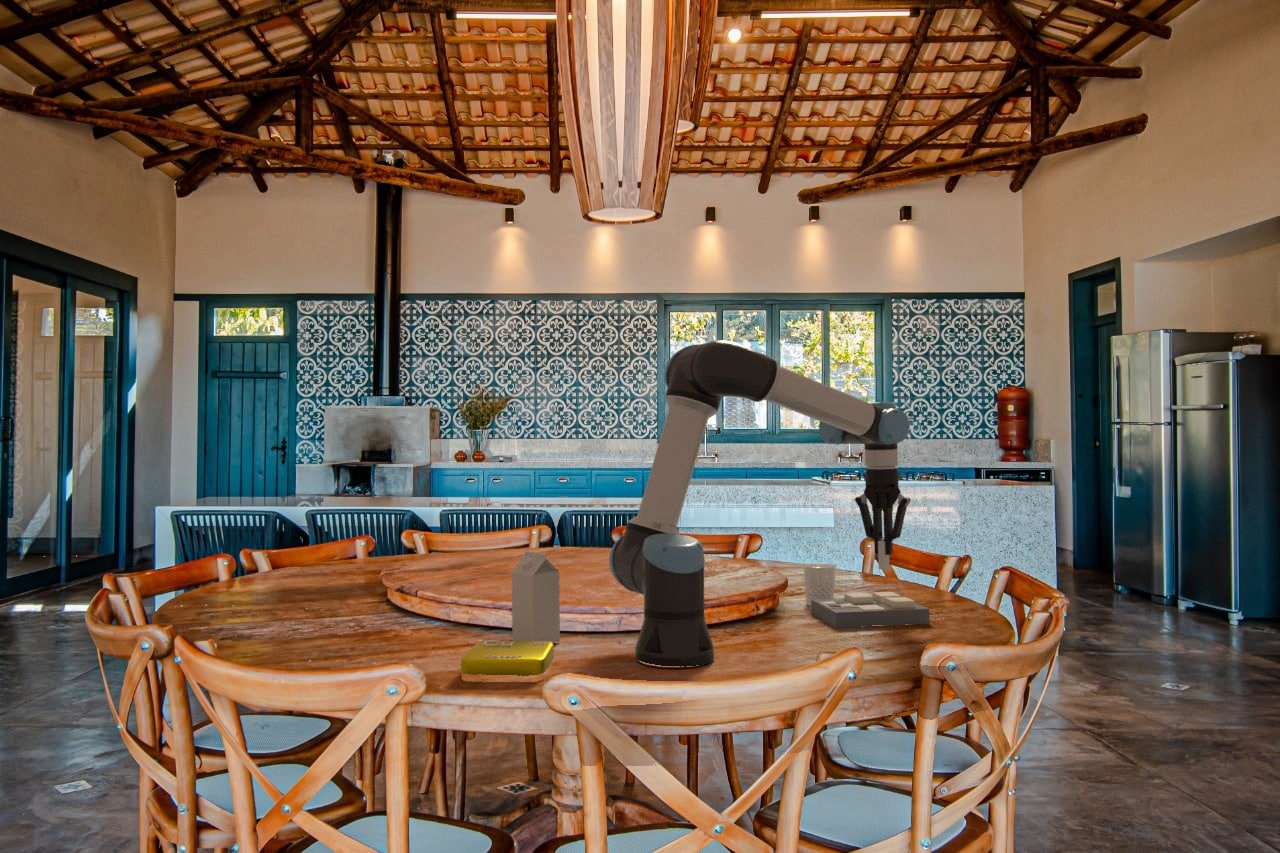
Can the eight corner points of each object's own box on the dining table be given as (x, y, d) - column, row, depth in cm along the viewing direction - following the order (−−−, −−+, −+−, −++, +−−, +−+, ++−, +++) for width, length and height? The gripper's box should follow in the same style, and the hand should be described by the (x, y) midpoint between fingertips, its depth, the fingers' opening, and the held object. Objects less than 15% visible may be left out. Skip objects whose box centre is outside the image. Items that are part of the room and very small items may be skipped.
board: (835, 628, 196) (835, 610, 196) (811, 614, 212) (811, 597, 212) (929, 624, 200) (929, 606, 200) (898, 610, 215) (898, 594, 215)
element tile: (458, 684, 156) (458, 657, 156) (478, 663, 171) (477, 638, 171) (543, 684, 155) (542, 657, 156) (555, 663, 170) (555, 638, 170)
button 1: (852, 607, 206) (852, 597, 206) (844, 603, 211) (844, 593, 211) (872, 606, 207) (872, 596, 207) (864, 602, 212) (864, 592, 212)
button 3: (881, 606, 207) (881, 596, 207) (872, 602, 212) (872, 592, 212) (901, 605, 208) (901, 595, 208) (892, 601, 213) (892, 591, 213)
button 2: (864, 620, 199) (864, 609, 199) (855, 615, 204) (855, 605, 204) (885, 619, 200) (885, 608, 200) (876, 615, 205) (876, 604, 205)
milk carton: (539, 638, 190) (538, 549, 190) (560, 643, 185) (559, 552, 185) (512, 643, 185) (511, 552, 185) (533, 649, 180) (532, 555, 180)
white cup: (838, 607, 220) (838, 567, 220) (806, 608, 220) (806, 567, 220) (832, 601, 228) (831, 562, 228) (801, 602, 228) (801, 563, 228)
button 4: (893, 612, 200) (893, 601, 200) (884, 608, 205) (884, 597, 205) (914, 611, 201) (914, 600, 201) (905, 607, 206) (904, 596, 206)
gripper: (914, 467, 207) (917, 568, 207) (861, 467, 215) (864, 564, 215) (902, 468, 201) (905, 572, 201) (848, 468, 209) (851, 568, 209)
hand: (883, 568), depth 208 cm, fingers closed
